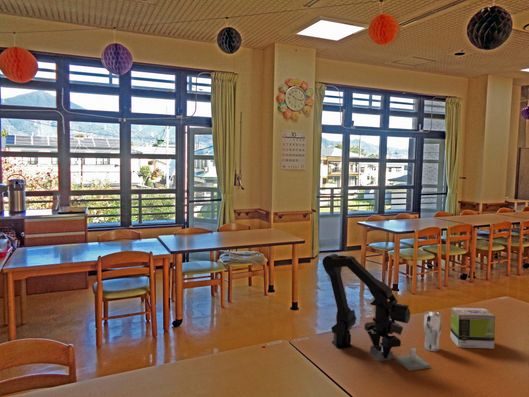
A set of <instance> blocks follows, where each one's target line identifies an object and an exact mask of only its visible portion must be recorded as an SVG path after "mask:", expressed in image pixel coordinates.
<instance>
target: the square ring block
mask: <svg viewBox="0 0 529 397" xmlns="http://www.w3.org/2000/svg"><path fill="white" fill-rule="evenodd" d="M369 346H370V347H369V348H370V351H369V355H370V356H372V357H373V358H374V359H375V361H377V362H383V361H390V360H391V361H392V360H393V356H394V354H393V352H394V351H393V350H392V349H391V350H390V352H389V355H388V357H387V358H384V356H383V352H382V349H381V345H380V344H379V345H374V346H373V345H369Z"/></svg>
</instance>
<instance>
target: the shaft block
mask: <svg viewBox="0 0 529 397" xmlns="http://www.w3.org/2000/svg"><path fill="white" fill-rule="evenodd" d="M408 352H409V353H408V354H407V355H398V356H395V360H396V362H398V363H399V364H400V365H402V367H404V368H405V369H406V370H407V371H416V370H422V369H430V363H427V361H426V360H424V359H423V358H422V357H420V356H418V355H417V349H416V347H410V348H409V351H408Z"/></svg>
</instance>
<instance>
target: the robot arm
mask: <svg viewBox="0 0 529 397" xmlns="http://www.w3.org/2000/svg"><path fill="white" fill-rule="evenodd" d="M321 264H322V266H323V269H324V271H325V273H326V274H327V276H328V277H329V279H330V284H331V288H332V292H333V297H334V301H335V304H336V316H335V320H336V323H335V324H334V325H332V327H331V332H332V333H333V340H332V341H331V343H332V344H333V345H334V347H336V348H337V349H342V348H343V349H344V348H351V347H352V344H351V342H352V334H351V329H352V327H354V326H355V325H356V322H357V321H356V320H357V316H356V313H355V310H354V309H351V308H350V306H349V304H348V299H347V295H346V292H345V286H344V283H343V278H342V274H341V273H342V268H343V267H345V268H346V267H347V268H348V269H349V270H350V271H351V273H353V275H355V276H356V277H357V278H358V279H359V280H360V281H361V282H363V284H364V285H365V286H366V287H367V288H368V290H369V293H370V294H371V296H372V297H373V301H371V302H370V303H369V305H371V306H374V308H375V309H374V311H375V312H374V317H372V321H371V322H370V321H369V322H365V323H364V331H366V332H367V334H368V336H369V338H370V341H371V344H372V346H374V345H381V349H382V352H383V356H384V358H387V357H388V355H389V352H390V350H392V348H398V347H401V346H402V344H401V342H402V341H401V339H400V338H399V337H397V336H396V335H393V334H398V335H399V336H401V335H402V332H403V329H404V327H403V326H402V325H401V324H399V323H397V322H400V323H403V324H409V322H410V320H411V311H410V308H409V305H407V304H401V303H399V302H398V300H397V299H396V296H395V295H394V293H393V289H392V288H391V287H390V286H389V285H388V284H386V283H385V282H383V281H382V280H379V279H377V278H376V277H374V275H373V274H372V273H370V271H369V270H368V269H367V268H365V267H364V266H363V265H362V264H361V262H359V261H358V260H357V259H356V257H354V256H353V255H349V256H348V255H339V254H337V253H332V254H329V255H327V256H324V257H323V259H322V263H321ZM389 334H390V335H389ZM380 341H381V342H380Z"/></svg>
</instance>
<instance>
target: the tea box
mask: <svg viewBox="0 0 529 397" xmlns="http://www.w3.org/2000/svg"><path fill="white" fill-rule="evenodd" d="M495 333H496V315H495V314H493V312H490V311H489V310H488V309H487V308H485V307H456V306H455V307H454V306H453V307H451V308H450V340H452V342H453V343H454V345H456V347H458V348H468V349H470V348H471V349H473V348H474V349H490V350H491V349H493V350H494V349H495V338H496V337H495V335H496V334H495Z"/></svg>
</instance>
